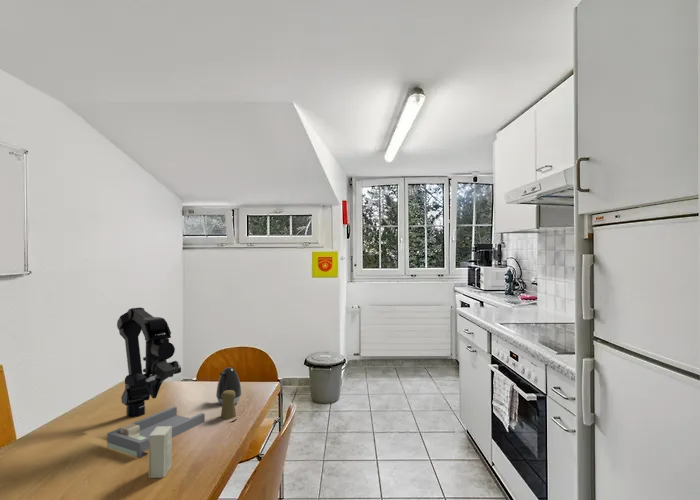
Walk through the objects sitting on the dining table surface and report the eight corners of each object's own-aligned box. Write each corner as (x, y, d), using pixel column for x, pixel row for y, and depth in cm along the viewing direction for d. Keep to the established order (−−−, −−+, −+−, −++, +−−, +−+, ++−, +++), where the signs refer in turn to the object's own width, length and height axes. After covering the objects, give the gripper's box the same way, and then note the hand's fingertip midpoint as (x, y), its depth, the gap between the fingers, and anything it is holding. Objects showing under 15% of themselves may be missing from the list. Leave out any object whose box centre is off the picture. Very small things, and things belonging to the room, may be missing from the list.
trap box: (107, 447, 131) (107, 433, 131) (173, 418, 155) (173, 406, 155) (139, 457, 124) (140, 443, 124) (204, 425, 148) (204, 413, 148)
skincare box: (156, 467, 119) (156, 425, 119) (172, 466, 119) (172, 425, 119) (147, 479, 112) (148, 435, 113) (164, 478, 113) (164, 434, 113)
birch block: (120, 440, 133) (120, 428, 133) (131, 435, 137) (131, 423, 137) (128, 442, 131) (128, 430, 131) (139, 437, 135) (139, 425, 135)
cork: (231, 423, 149) (231, 394, 150) (217, 422, 151) (217, 393, 151) (239, 417, 155) (239, 388, 155) (225, 416, 157) (225, 387, 157)
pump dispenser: (210, 406, 167) (210, 369, 167) (227, 398, 177) (227, 363, 177) (230, 409, 163) (230, 372, 163) (246, 401, 173) (246, 365, 173)
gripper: (145, 363, 131) (144, 411, 131) (191, 351, 148) (191, 393, 148) (123, 359, 136) (123, 405, 136) (171, 347, 153) (170, 389, 153)
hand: (154, 398), depth 143 cm, fingers closed
